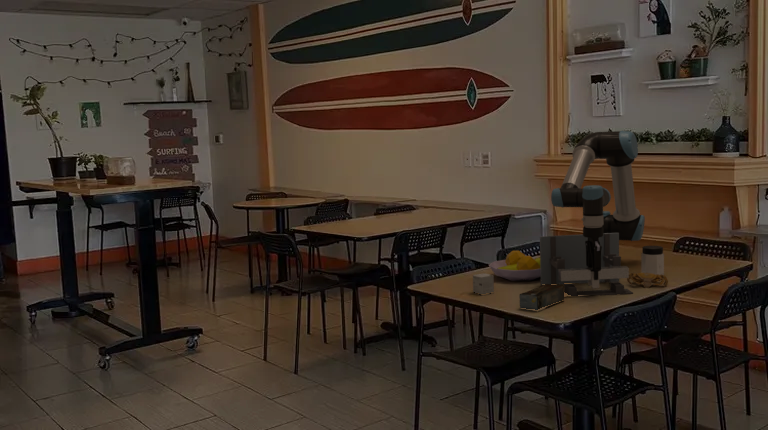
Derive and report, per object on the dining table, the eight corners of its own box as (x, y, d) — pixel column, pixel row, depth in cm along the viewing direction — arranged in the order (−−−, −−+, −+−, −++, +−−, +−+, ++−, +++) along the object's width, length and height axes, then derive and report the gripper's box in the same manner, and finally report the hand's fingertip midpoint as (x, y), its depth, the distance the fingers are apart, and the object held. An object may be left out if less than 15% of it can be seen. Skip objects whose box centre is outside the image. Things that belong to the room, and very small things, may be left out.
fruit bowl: (483, 283, 322) (482, 256, 321) (498, 270, 347) (497, 245, 346) (550, 285, 312) (550, 258, 311) (561, 272, 337) (560, 247, 335)
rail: (558, 279, 296) (558, 269, 296) (625, 276, 297) (625, 265, 296) (561, 281, 293) (560, 270, 292) (628, 277, 293) (628, 267, 293)
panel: (540, 284, 314) (539, 236, 312) (618, 280, 315) (618, 232, 313) (548, 292, 301) (547, 241, 298) (629, 288, 301) (629, 237, 299)
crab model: (663, 282, 311) (664, 268, 310) (670, 289, 298) (670, 275, 298) (624, 282, 313) (624, 269, 313) (628, 288, 301) (628, 275, 300)
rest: (555, 293, 298) (555, 284, 298) (626, 289, 299) (626, 280, 299) (559, 297, 292) (559, 288, 291) (633, 293, 292) (633, 284, 292)
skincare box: (472, 293, 306) (472, 274, 305) (485, 290, 308) (484, 272, 308) (481, 295, 300) (481, 277, 299) (494, 293, 303) (493, 275, 302)
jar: (654, 278, 317) (654, 249, 315) (637, 275, 324) (637, 247, 322) (667, 275, 322) (667, 246, 320) (651, 272, 329) (651, 244, 327)
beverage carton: (518, 309, 277) (517, 292, 276) (546, 299, 291) (546, 282, 290) (537, 312, 272) (537, 294, 271) (565, 302, 285) (564, 284, 285)
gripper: (577, 223, 300) (578, 282, 303) (589, 229, 284) (590, 292, 287) (596, 222, 300) (596, 281, 303) (609, 228, 284) (610, 291, 287)
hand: (593, 286), depth 295 cm, fingers closed on rail, 3 cm apart
